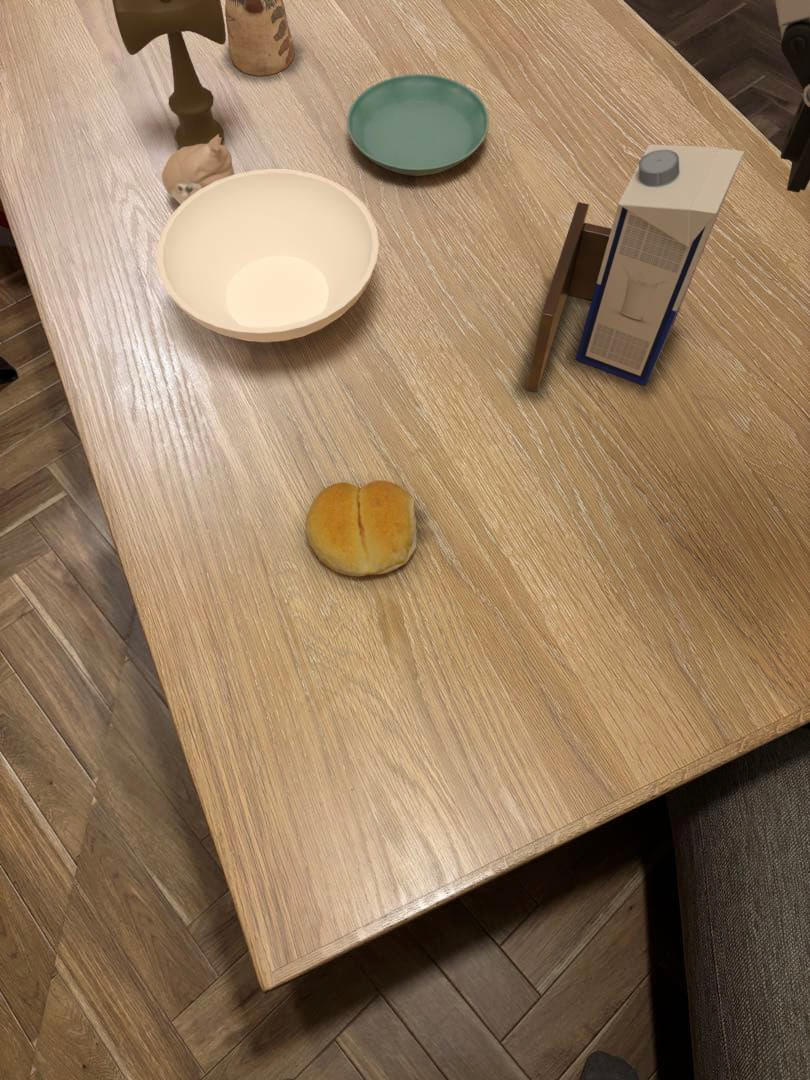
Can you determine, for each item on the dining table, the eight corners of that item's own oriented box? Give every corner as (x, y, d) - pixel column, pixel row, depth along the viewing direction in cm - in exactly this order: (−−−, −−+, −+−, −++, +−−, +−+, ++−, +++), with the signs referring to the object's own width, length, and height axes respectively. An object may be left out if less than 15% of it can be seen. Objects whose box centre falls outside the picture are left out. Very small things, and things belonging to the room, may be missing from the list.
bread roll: (307, 493, 73) (302, 468, 69) (414, 489, 73) (414, 464, 69) (306, 583, 69) (301, 561, 65) (418, 579, 69) (419, 557, 65)
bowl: (133, 300, 82) (111, 246, 76) (286, 196, 88) (277, 138, 82) (268, 420, 76) (256, 372, 70) (423, 299, 82) (424, 244, 76)
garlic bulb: (205, 233, 86) (187, 166, 79) (159, 205, 88) (137, 137, 81) (250, 195, 88) (236, 127, 81) (204, 169, 90) (186, 99, 83)
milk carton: (645, 387, 77) (716, 211, 59) (574, 361, 79) (623, 181, 61) (670, 332, 80) (745, 147, 62) (601, 307, 82) (656, 120, 64)
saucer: (410, 77, 97) (410, 55, 94) (514, 135, 92) (517, 113, 90) (319, 146, 92) (317, 124, 89) (426, 211, 87) (426, 190, 85)
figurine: (294, 35, 100) (280, -77, 89) (294, 75, 97) (280, -37, 86) (232, 38, 100) (211, -75, 89) (230, 78, 97) (208, -34, 86)
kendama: (250, 152, 91) (212, -48, 73) (158, 167, 90) (97, -32, 72) (241, 115, 94) (203, -87, 76) (152, 129, 93) (92, -72, 75)
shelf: (663, 309, 81) (694, 227, 72) (636, 418, 76) (666, 344, 67) (559, 284, 83) (577, 201, 74) (525, 389, 77) (541, 313, 68)
